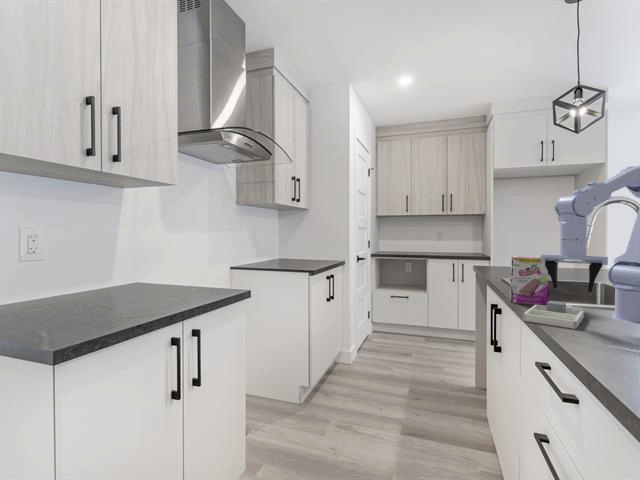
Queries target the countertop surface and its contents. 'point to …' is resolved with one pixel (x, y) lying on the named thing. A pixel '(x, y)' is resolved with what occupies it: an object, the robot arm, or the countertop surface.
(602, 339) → the countertop surface
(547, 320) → the two-bin tray
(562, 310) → the slate block
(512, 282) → the candy bar box
